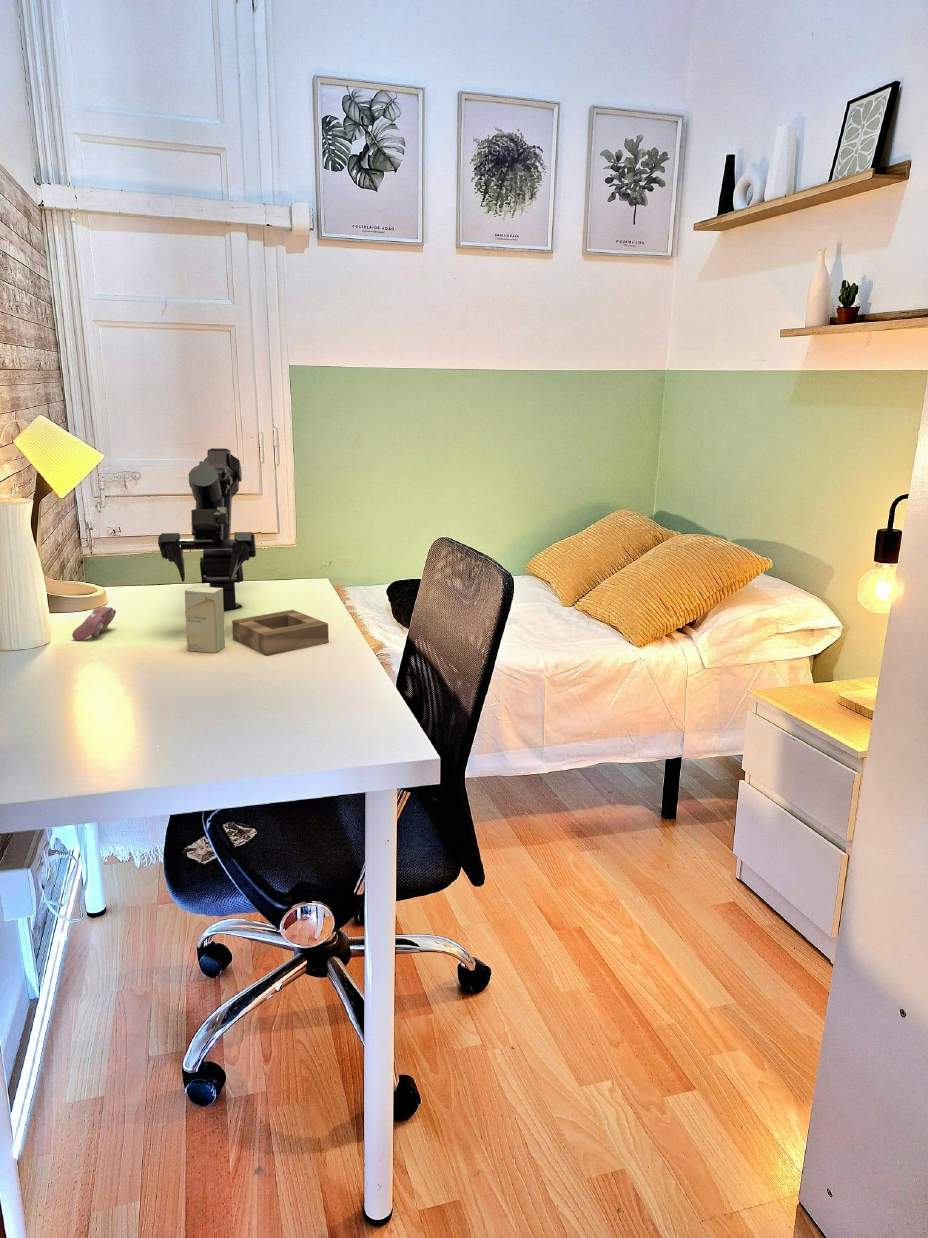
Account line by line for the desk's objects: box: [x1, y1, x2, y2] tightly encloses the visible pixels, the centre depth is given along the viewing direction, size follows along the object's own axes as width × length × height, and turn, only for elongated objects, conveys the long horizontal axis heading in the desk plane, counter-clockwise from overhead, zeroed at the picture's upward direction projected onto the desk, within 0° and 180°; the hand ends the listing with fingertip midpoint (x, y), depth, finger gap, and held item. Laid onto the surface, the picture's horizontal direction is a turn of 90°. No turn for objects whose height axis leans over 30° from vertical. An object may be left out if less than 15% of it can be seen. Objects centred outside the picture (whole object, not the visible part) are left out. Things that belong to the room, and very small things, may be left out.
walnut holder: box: [231, 609, 329, 656], centre depth 171 cm, size 14×14×4 cm
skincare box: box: [184, 585, 226, 654], centre depth 163 cm, size 6×4×12 cm
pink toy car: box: [71, 605, 117, 641], centre depth 173 cm, size 10×5×7 cm, turn 179°
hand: (206, 580), depth 168 cm, fingers open, 9 cm apart
